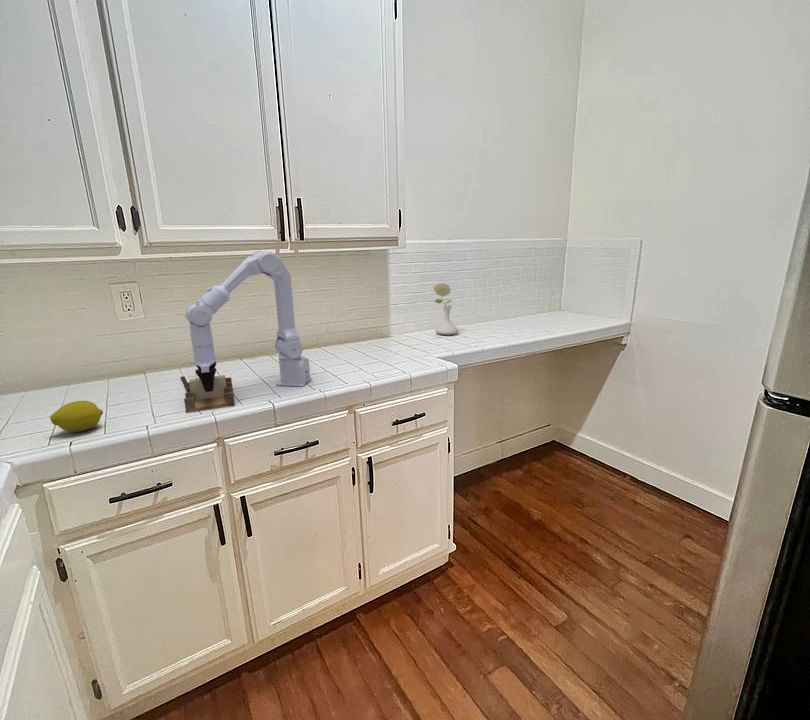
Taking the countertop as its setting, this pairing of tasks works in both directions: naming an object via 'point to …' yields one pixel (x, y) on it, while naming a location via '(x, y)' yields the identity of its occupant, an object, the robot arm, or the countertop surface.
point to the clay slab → (217, 391)
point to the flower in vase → (445, 311)
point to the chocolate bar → (186, 379)
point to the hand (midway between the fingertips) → (209, 388)
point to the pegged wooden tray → (209, 399)
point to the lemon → (77, 416)
